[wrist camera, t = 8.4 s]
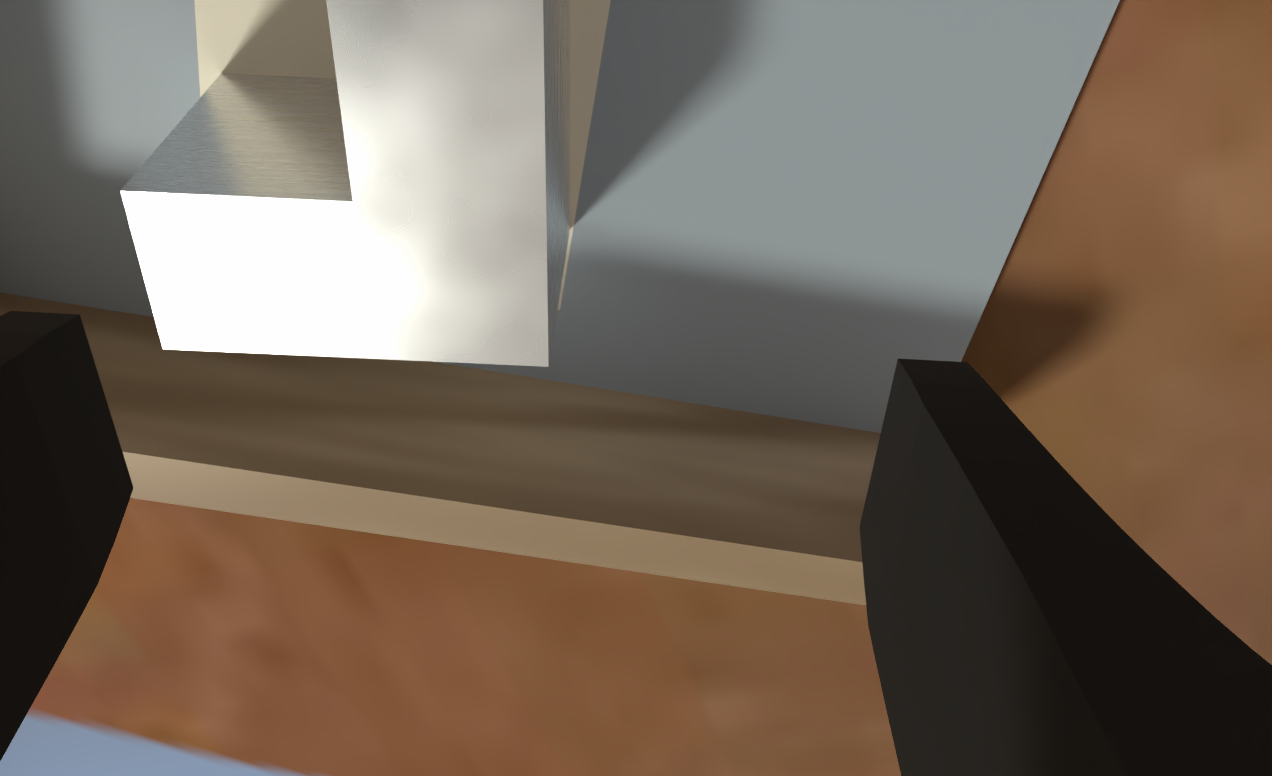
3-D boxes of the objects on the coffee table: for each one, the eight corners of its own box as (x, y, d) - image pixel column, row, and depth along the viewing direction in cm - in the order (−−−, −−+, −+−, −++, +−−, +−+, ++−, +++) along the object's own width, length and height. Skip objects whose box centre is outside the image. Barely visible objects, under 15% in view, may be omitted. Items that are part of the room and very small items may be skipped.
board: (-174, -653, 13) (-195, -657, 13) (1251, -332, 14) (1264, -329, 14) (5, 280, 21) (-5, 291, 20) (923, 427, 22) (926, 440, 22)
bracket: (569, 228, 19) (548, 366, 16) (248, 214, 19) (163, 349, 16) (569, -115, 16) (542, -28, 13) (180, -133, 16) (55, -50, 13)
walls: (-265, -674, 13) (-577, -743, 10) (1251, -332, 14) (1414, -296, 11) (-41, 315, 21) (-169, 454, 18) (906, 465, 23) (944, 616, 19)
